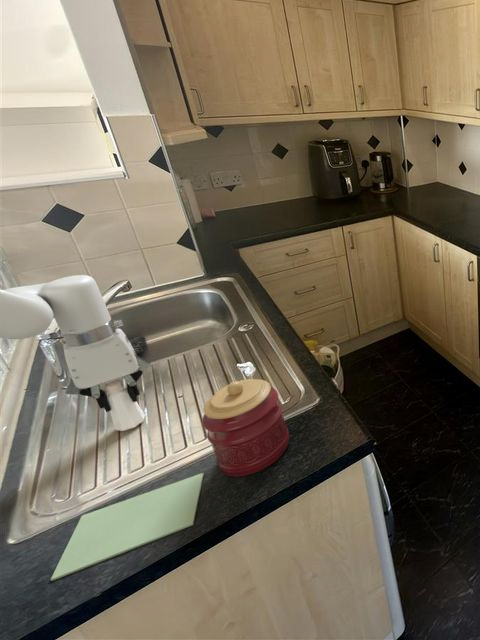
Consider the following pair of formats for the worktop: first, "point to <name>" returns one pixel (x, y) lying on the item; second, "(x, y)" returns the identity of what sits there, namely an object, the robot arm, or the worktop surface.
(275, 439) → the kitchen canister
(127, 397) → the pepper shaker
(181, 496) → the mat
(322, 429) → the worktop surface
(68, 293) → the robot arm
